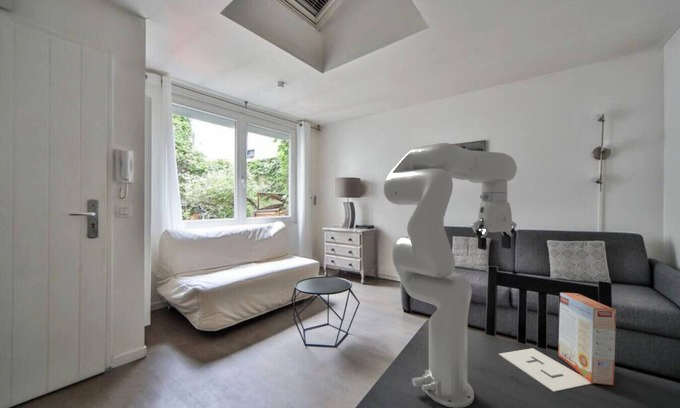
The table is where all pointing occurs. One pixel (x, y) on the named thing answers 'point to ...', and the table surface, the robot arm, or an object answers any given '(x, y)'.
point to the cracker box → (587, 337)
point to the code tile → (545, 369)
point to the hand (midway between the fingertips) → (494, 248)
